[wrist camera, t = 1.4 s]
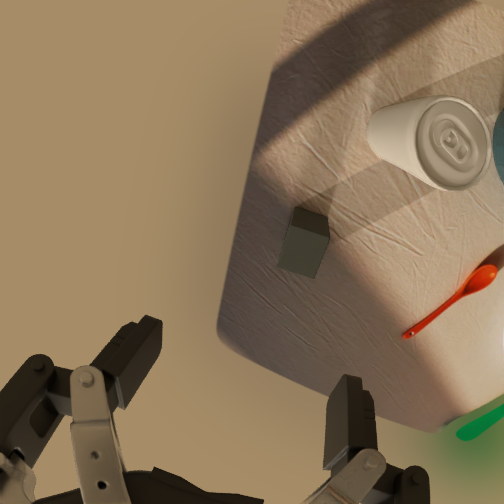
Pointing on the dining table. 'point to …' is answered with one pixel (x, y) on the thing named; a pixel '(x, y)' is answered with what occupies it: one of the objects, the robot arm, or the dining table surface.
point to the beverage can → (433, 141)
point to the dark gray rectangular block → (304, 243)
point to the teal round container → (499, 145)
